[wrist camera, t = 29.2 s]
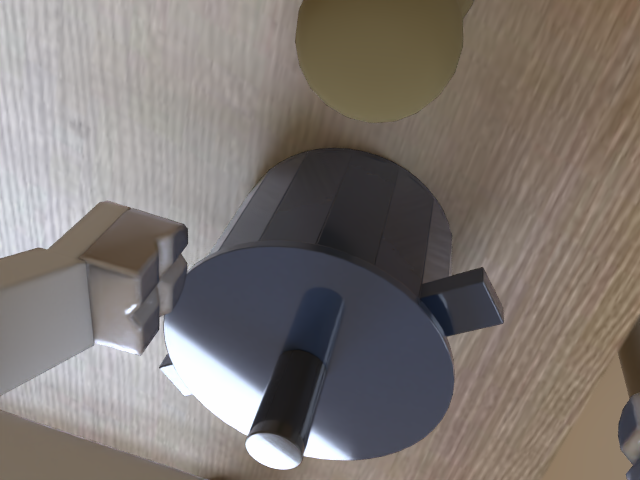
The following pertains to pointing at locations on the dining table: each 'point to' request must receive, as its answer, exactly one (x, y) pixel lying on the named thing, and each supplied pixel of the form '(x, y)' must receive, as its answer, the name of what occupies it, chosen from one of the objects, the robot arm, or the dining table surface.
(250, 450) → the pot lid
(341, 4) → the olive brown tapered piece
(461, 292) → the pot
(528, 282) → the dining table surface
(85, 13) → the dining table surface
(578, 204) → the dining table surface
